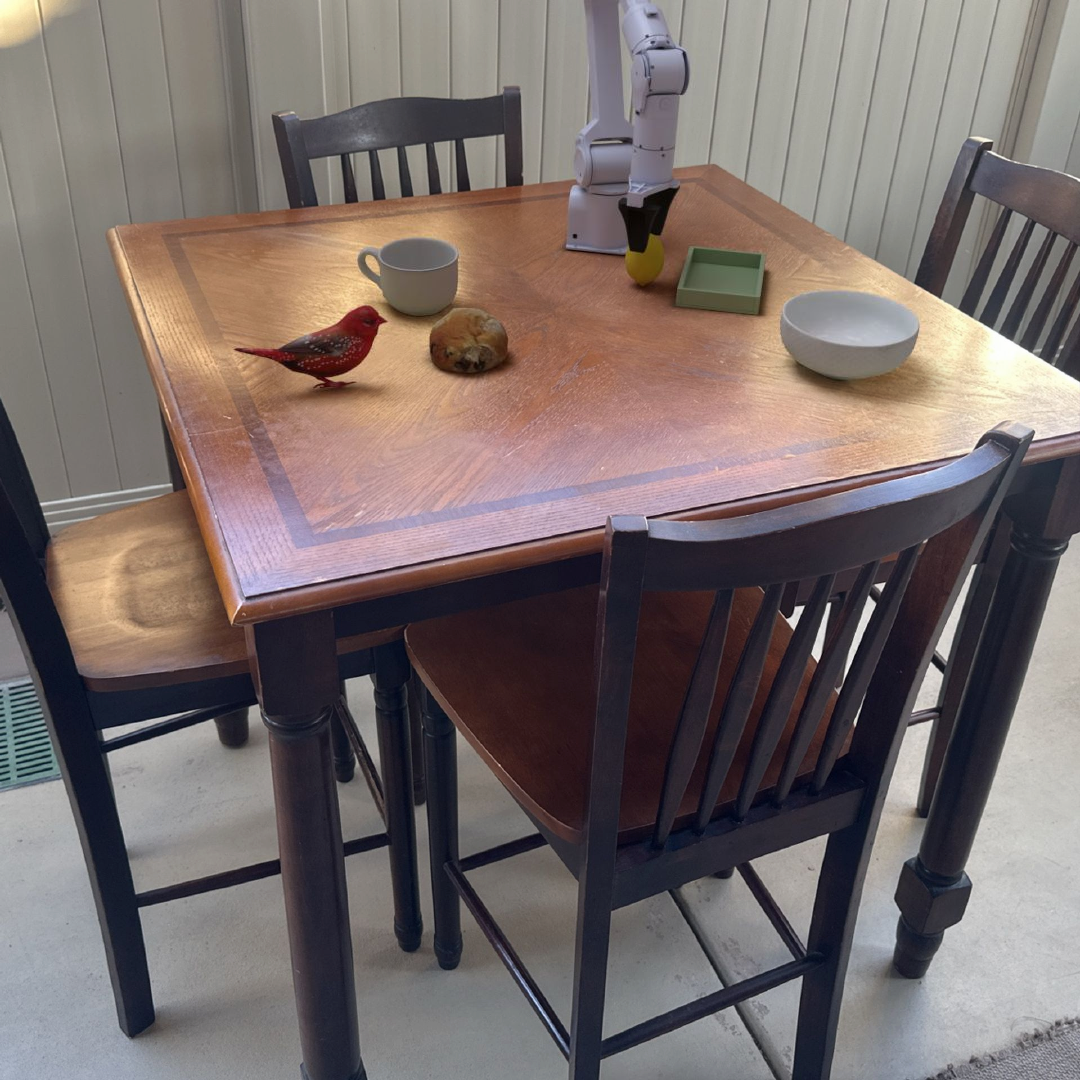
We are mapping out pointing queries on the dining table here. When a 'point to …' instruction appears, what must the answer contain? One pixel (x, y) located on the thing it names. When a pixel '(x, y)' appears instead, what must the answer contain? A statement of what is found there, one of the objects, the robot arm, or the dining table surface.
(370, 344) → the decorative bird figurine
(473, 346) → the bread roll
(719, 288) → the tray
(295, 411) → the dining table surface
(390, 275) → the teacup
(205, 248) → the dining table surface
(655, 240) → the lemon
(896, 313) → the cereal bowl
